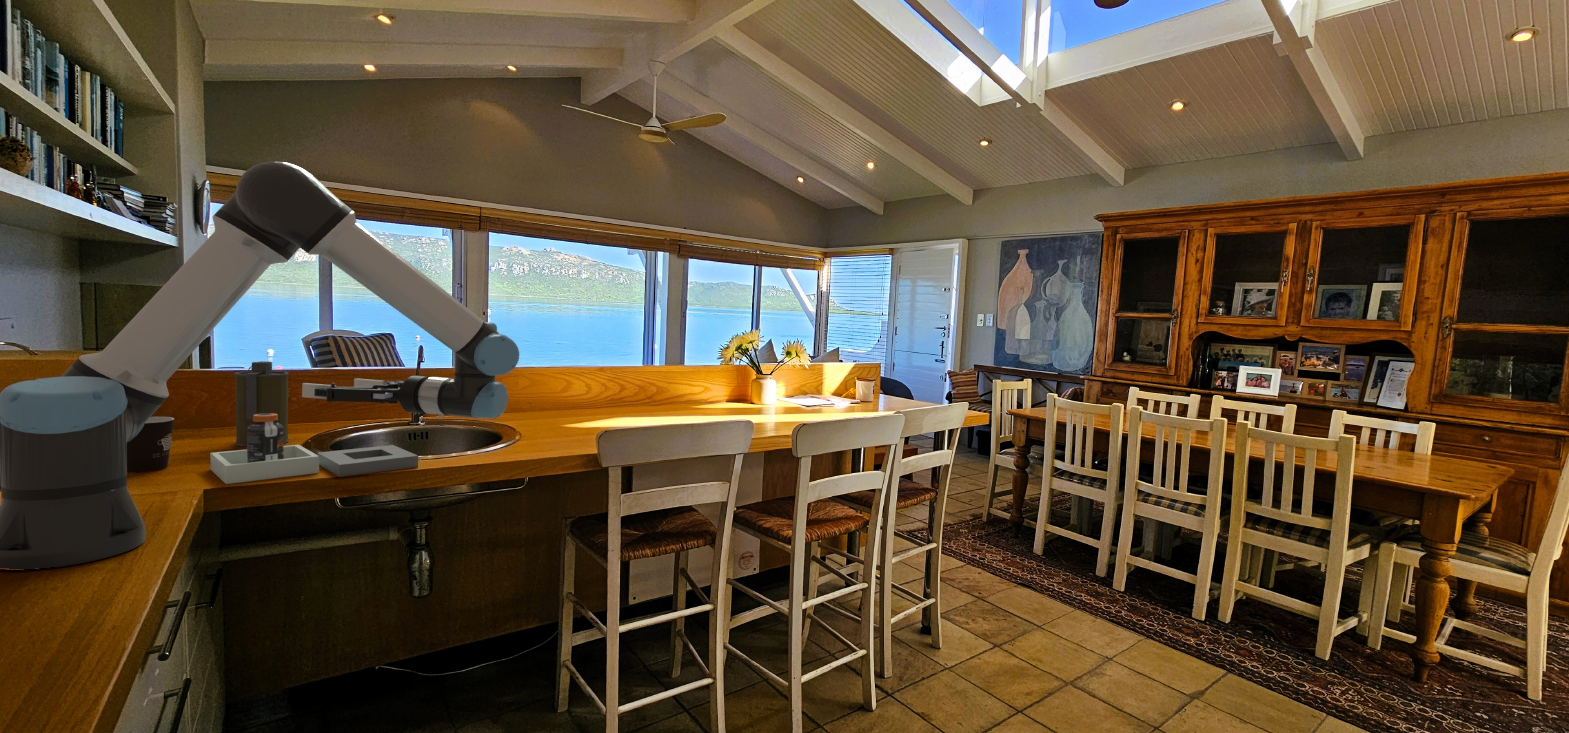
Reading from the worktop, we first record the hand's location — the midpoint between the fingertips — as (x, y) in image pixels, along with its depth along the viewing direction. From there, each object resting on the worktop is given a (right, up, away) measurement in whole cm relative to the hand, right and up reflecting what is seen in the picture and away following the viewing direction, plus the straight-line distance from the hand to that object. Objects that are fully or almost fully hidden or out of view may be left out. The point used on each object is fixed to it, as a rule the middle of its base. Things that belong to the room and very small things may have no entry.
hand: (330, 387), depth 136 cm
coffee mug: (-36, -17, 0) cm, 40 cm away
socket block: (+1, -18, +10) cm, 20 cm away
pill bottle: (-14, -17, +1) cm, 22 cm away
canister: (-35, -15, +27) cm, 47 cm away
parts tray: (-14, -17, +1) cm, 22 cm away
